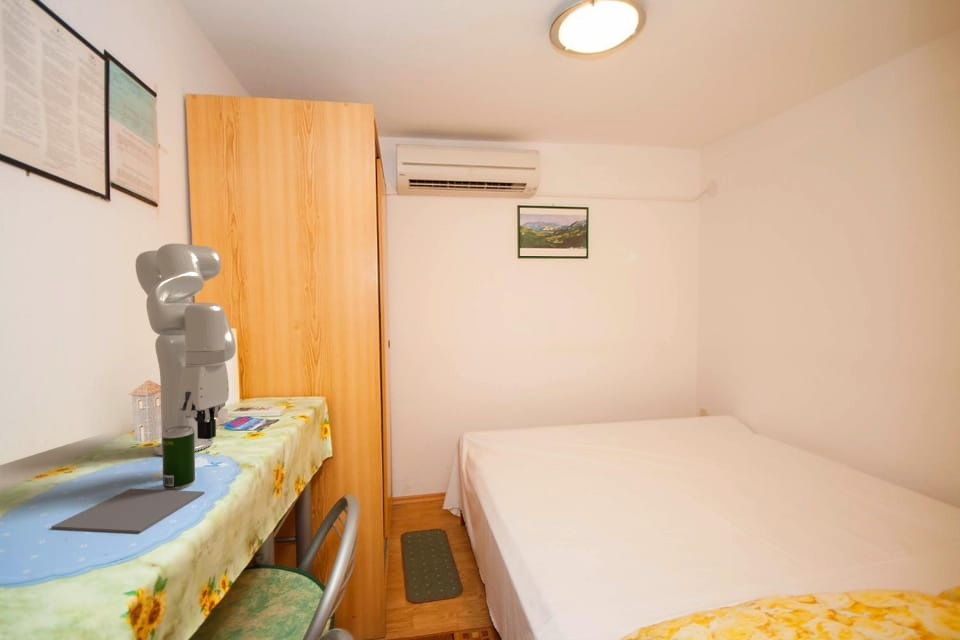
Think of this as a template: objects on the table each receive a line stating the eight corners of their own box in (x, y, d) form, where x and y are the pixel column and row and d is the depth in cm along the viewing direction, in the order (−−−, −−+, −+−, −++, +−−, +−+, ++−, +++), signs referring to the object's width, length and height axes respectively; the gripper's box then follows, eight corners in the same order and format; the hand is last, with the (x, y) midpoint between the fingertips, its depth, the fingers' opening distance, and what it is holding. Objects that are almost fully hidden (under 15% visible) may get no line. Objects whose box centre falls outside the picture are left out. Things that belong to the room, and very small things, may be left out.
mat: (130, 490, 81) (130, 488, 81) (204, 493, 79) (204, 491, 79) (51, 528, 67) (51, 526, 67) (139, 533, 66) (139, 530, 66)
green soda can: (183, 491, 80) (182, 433, 80) (156, 491, 80) (155, 433, 80) (200, 479, 86) (200, 425, 86) (175, 480, 86) (174, 425, 85)
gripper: (214, 354, 98) (215, 427, 98) (161, 362, 83) (163, 448, 83) (243, 354, 97) (244, 428, 98) (195, 363, 82) (196, 449, 83)
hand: (206, 437), depth 90 cm, fingers closed
